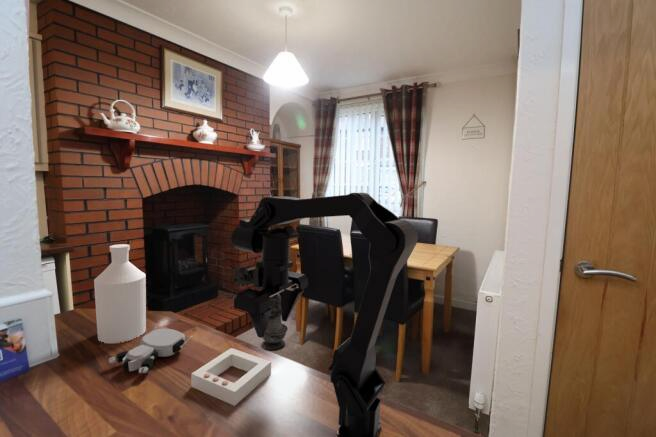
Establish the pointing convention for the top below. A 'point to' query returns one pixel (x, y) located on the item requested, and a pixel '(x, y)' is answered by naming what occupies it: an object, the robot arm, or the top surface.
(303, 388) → the top surface
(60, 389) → the top surface
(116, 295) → the bottle
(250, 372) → the socket block
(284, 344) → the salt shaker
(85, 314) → the top surface
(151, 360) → the robot toy
